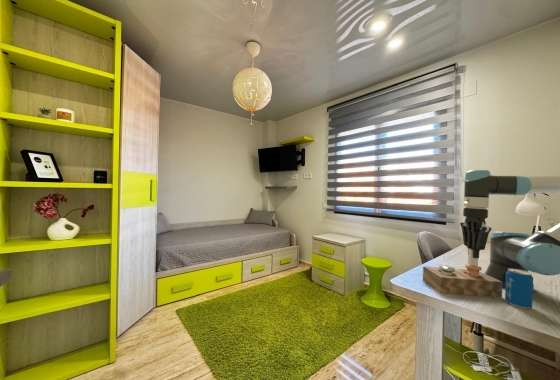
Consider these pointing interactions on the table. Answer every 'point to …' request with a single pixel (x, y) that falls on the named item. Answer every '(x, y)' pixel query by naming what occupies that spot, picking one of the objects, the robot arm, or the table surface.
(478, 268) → the terracotta plug
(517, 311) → the table surface
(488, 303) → the table surface
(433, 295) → the table surface
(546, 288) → the table surface
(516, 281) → the beverage can
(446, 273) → the grey plug
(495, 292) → the socket block
